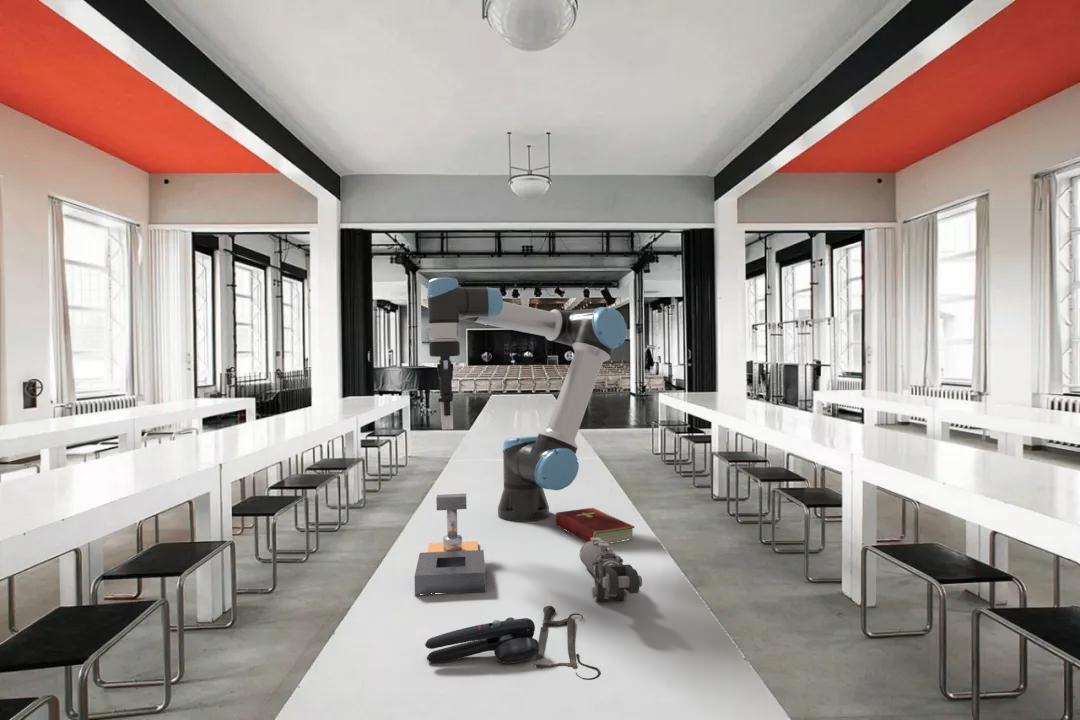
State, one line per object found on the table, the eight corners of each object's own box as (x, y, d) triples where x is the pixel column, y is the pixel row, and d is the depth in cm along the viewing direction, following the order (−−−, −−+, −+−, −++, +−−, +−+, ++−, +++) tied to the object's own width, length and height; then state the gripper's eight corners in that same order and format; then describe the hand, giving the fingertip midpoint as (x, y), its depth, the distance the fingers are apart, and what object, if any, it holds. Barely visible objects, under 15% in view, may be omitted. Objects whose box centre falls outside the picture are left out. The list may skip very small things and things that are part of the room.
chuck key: (467, 545, 150) (466, 492, 150) (467, 551, 146) (466, 497, 146) (438, 547, 149) (437, 494, 149) (437, 553, 145) (436, 498, 145)
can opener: (534, 642, 102) (534, 609, 102) (541, 663, 95) (540, 627, 95) (426, 651, 100) (425, 616, 99) (424, 673, 93) (424, 636, 93)
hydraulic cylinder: (607, 620, 105) (604, 560, 107) (575, 577, 141) (574, 532, 143) (648, 618, 106) (646, 558, 107) (606, 576, 142) (604, 531, 144)
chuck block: (483, 567, 138) (483, 549, 137) (485, 592, 124) (485, 572, 124) (419, 570, 136) (419, 552, 136) (414, 595, 122) (414, 575, 122)
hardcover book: (593, 548, 152) (593, 531, 152) (555, 526, 171) (555, 511, 171) (634, 541, 157) (634, 525, 157) (592, 521, 176) (592, 506, 176)
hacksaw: (542, 610, 115) (542, 603, 115) (597, 613, 115) (597, 605, 115) (531, 684, 91) (531, 675, 91) (600, 688, 90) (600, 679, 90)
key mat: (477, 544, 154) (477, 541, 154) (478, 560, 142) (478, 556, 142) (429, 546, 153) (429, 543, 153) (426, 562, 141) (425, 559, 141)
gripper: (429, 341, 165) (431, 420, 166) (428, 340, 140) (431, 433, 141) (457, 340, 166) (459, 418, 167) (461, 339, 142) (464, 431, 142)
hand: (446, 425), depth 154 cm, fingers open, 13 cm apart
